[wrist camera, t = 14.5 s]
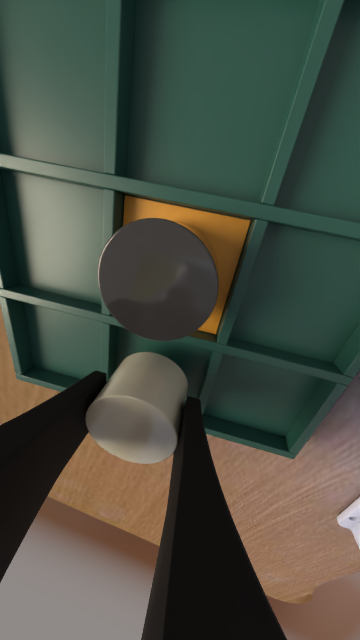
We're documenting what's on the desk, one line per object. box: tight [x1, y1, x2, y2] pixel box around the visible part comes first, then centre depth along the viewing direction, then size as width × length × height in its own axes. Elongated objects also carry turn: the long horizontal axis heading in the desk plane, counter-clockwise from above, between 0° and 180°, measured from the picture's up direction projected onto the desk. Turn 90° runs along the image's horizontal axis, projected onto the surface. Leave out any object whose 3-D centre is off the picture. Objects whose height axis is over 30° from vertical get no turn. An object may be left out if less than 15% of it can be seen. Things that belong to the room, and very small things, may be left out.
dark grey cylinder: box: [98, 218, 219, 341], centre depth 8 cm, size 4×4×3 cm
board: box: [0, 0, 360, 459], centre depth 10 cm, size 19×19×2 cm
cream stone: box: [85, 352, 188, 464], centre depth 10 cm, size 4×4×3 cm
